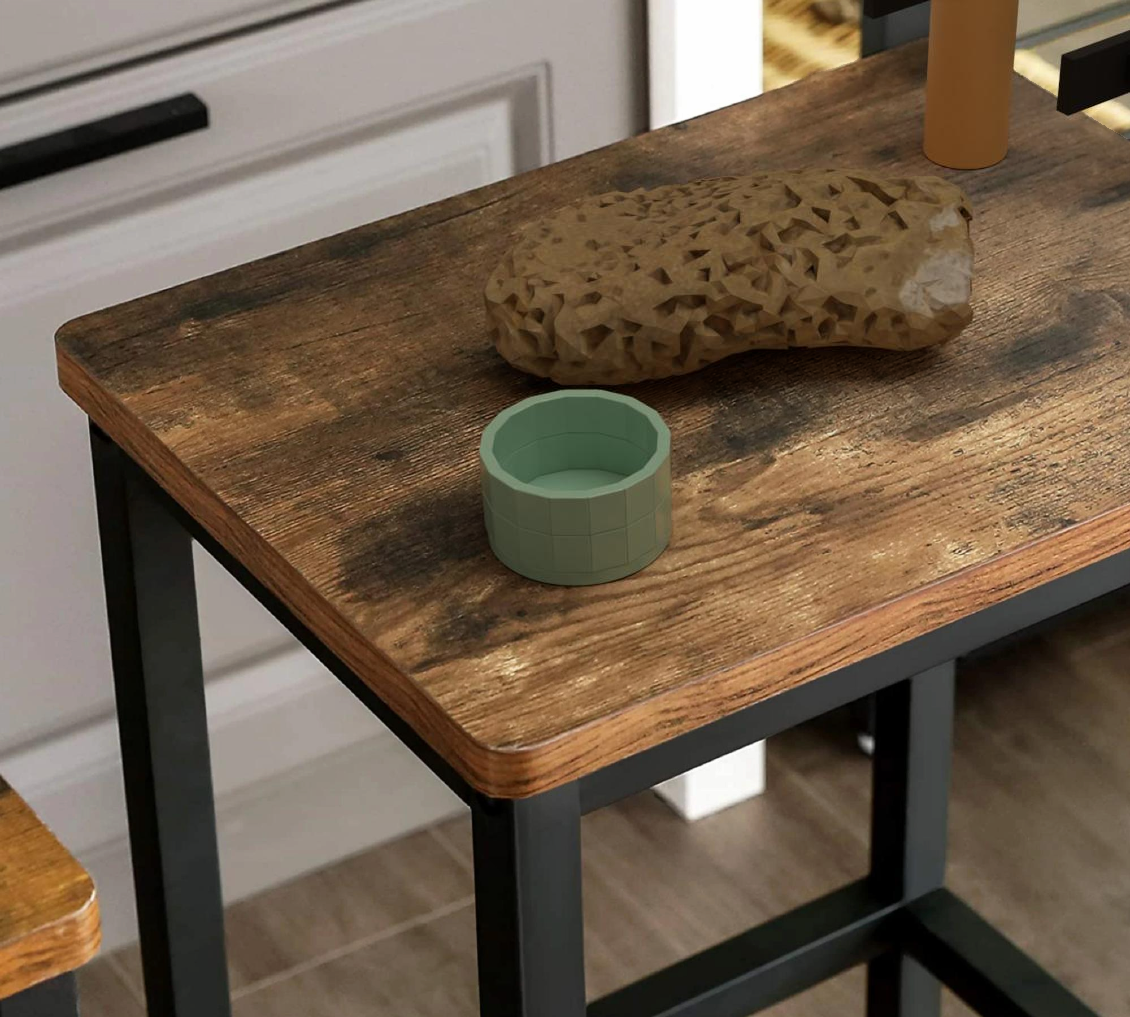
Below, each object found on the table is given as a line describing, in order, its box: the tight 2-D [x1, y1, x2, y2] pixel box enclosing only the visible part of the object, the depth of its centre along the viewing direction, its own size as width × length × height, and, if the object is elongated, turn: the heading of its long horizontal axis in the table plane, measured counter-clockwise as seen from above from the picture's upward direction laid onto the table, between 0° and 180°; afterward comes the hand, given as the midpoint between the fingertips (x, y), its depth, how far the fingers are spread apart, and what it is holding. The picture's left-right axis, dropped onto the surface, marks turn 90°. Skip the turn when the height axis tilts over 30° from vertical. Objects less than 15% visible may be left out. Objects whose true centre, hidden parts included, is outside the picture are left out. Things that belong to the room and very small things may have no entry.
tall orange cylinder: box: [922, 0, 1020, 170], centre depth 102 cm, size 4×4×10 cm
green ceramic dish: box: [478, 389, 674, 587], centre depth 80 cm, size 7×7×4 cm
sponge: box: [482, 166, 976, 386], centre depth 90 cm, size 13×8×20 cm
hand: (961, 36), depth 101 cm, fingers open, 13 cm apart
